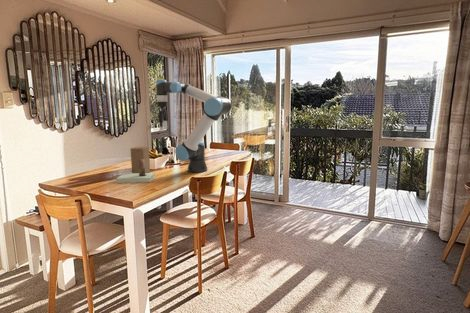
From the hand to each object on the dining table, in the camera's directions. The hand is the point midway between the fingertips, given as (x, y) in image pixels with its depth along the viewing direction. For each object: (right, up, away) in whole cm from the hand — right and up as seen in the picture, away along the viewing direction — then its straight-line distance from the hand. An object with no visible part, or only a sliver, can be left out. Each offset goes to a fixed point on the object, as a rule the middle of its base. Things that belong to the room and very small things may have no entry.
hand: (163, 130), depth 223 cm
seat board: (-14, -36, -18) cm, 42 cm away
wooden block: (-17, -33, 0) cm, 37 cm away
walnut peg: (-10, -36, -18) cm, 41 cm away
